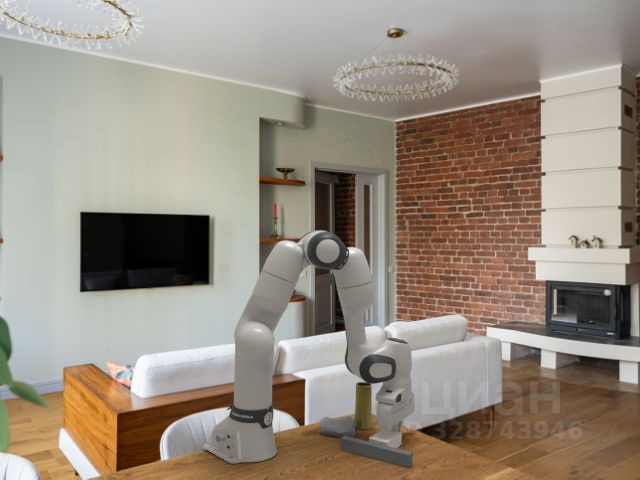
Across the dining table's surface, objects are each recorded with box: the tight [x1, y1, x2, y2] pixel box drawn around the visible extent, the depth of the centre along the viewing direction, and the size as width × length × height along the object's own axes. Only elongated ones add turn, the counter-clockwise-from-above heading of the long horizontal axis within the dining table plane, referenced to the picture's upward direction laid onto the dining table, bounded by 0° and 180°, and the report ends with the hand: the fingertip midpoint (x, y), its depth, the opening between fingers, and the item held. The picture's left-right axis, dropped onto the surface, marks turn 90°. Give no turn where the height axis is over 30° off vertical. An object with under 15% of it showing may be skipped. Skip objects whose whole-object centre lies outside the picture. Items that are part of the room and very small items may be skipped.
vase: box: [354, 381, 373, 430], centre depth 183 cm, size 6×6×14 cm
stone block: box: [319, 416, 356, 438], centre depth 178 cm, size 12×5×10 cm
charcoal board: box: [340, 436, 414, 469], centre depth 158 cm, size 22×2×4 cm, turn 57°
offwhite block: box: [368, 428, 403, 449], centre depth 165 cm, size 6×10×4 cm, turn 147°
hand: (396, 434), depth 170 cm, fingers closed
